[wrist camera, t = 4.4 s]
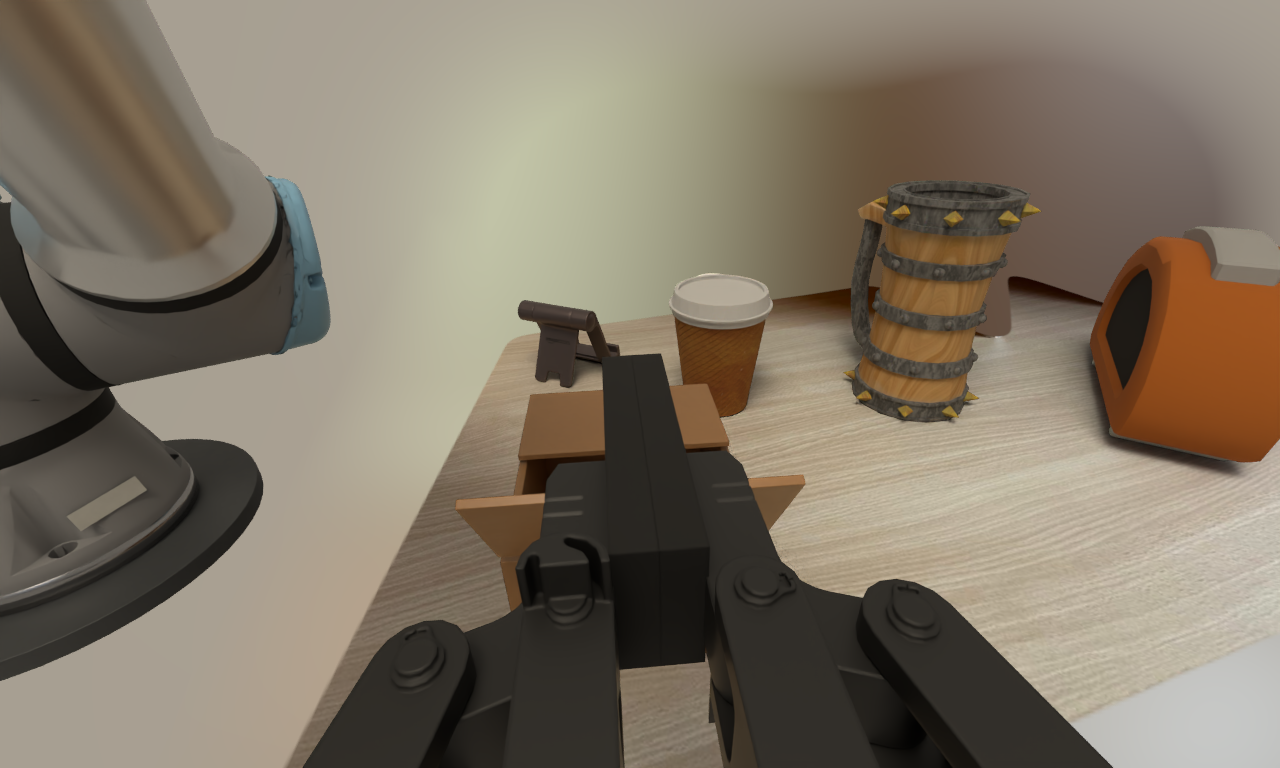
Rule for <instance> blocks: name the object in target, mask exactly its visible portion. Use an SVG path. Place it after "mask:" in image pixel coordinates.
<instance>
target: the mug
mask: <svg viewBox="0 0 1280 768" xmlns="http://www.w3.org/2000/svg"><path fill="white" fill-rule="evenodd" d="M887 194H888V195H887V196H885V197H882V198H880V199H877V200H874V201H873V202H872V203H869V204H867V205H865V206H863V207H862V208H860V209H859V210H858V212H859V214H860V217H861V218H863V219H865V224H864V231H863V235H862V239H861V244H860V248H859V251H858V255H857V258H856V262H855V267H854V272H853V277H852V288H851V314H852V326H853V333H854V336H855V338H856V340H857V342H858V343H859V345H860V346H861V347H862V350H863V356H862V359H861V362H860V363H859V364H858V366H857V367H856V368H855V370H853V371H848V372H843V373H845V374H846V375H848V376H849V377H850V378H852V379H853V380H854V381H853V382H852V388H853V394H854V395H855V396H856V398H857V399H859V400H860V401H861V402H862V403H863V404H864V405H866V406H868V407H870V408H872V409H874V410H876V411H877V412H879V413H882V414H885V415H889V416H892V417H895V418H899V419H902V420H910V421H920V422H933V421H943V420H948V419H950V418H952V417H958V414H960V412H961V410H962V407H963V405H964V401H969V400H975V399H979V398H978V397H976V396H975V395H973V394H971V393H970V392H968V389H969V387H968V385H967V383H966V379H967V373H968V372H969V371H970V369H971V367H972V365H973V362H975V361H976V360H977V359H978V355H977V354H976V353H973V351H974V350H973V349H972V343H973V339H974V335H975V331H976V326H978V325H979V324H980V323H984V322H985V321H986V319H987V317H986V315H985V314H984V312H985V308H986V304H985V303H984V299H985V296H986V294H987V291H988V288H989V285H990V282H991V280H992V277H994V276H995V274H996V273H997V271H998V269H999V268H1003V267H1005V266H1006V265H1007V263H1008V262H1007V260H1006V259H1005V257H1006V254H1004V253H1003V251H1004V249H1005V246H1006V244H1007V242H1008V240H1009V237H1010V235H1011V233H1012V232H1016V231H1017V230H1018V229H1019V227H1020V225H1021V221H1022V220H1021V219H1020V218H1023V217H1026V216H1029V215H1032V214H1035V213H1037V212H1041V211H1040V210H1038V209H1037V208H1035V207H1033V206H1031V205H1030V204H1028V203H1027V201H1028V199H1029V196H1030V193H1028V192H1026V191H1024V190H1021V189H1018V188H1014V187H1009V186H1004V185H997V184H989V183H981V182H966V181H914V182H905V183H899V184H894V185H892V186H890V187H889V188H888V191H887ZM882 225H884V226H886V227H887V229H886V242H885V243H883V244H882V245H881V248H880V249H879V250H878V251H877V255H878V256H879V257H882V262H883V264H884V265H883V272H882V280H881V287H880V289H879V290H877V292H876V296H875V301H874V303H873V305H872V307H873V309H875V311H876V312H875V316H874V320H873V324H872V328H870V324H869V314H868V285H869V277H870V273H871V268H872V263H873V260H874V257H875V254H876V250H877V247H878V243H879V239H880V235H881V230H882ZM958 418H959V417H958Z"/></svg>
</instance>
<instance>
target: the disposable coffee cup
mask: <svg viewBox="0 0 1280 768" xmlns="http://www.w3.org/2000/svg"><path fill="white" fill-rule="evenodd" d="M669 305H670V308H671V310H672V313H673V315H674V317H675V324H676V332H677V339H678V348H679V355H680V363H681V371H682V379H683V385H693V384H707V385H708V387H709V390H710V393H711V395H712V398H713V400H714V403H715V406H716V408H717V411H718V414H719V416H720V417H723V416H730V415H734V414H736V413H739V412H740V411H742V410H743V409H744V408H745V407H746V405H747V399H748V395H749V390H750V386H751V382H752V377H753V373H754V369H755V364H756V360H757V356H758V351H759V347H760V342H761V338H762V333H763V329H764V325H765V319H766V318H767V317H768V315H769V312H770V311H771V310H772V307H773V302H772V300H771V299H770V298H769V291H768V288H767V287H766V285H764V284H763V283H761V282H759V281H757V280H754V279H750V278H747V277H742V276H735V275H719V274H717V275H703V276H697V277H692V278H689V279H686V280H683V281H681V282H679V283H678V284H677V285H676V286H675V289H674V293H673V296H672V297H671V298H670V300H669Z"/></svg>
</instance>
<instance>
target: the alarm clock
mask: <svg viewBox="0 0 1280 768" xmlns="http://www.w3.org/2000/svg"><path fill="white" fill-rule="evenodd" d="M1090 347H1091V351H1092V355H1093V361H1092V364H1093V365H1094V366H1095V367H1096V371H1097V374H1098V378H1099V382H1100V386H1101V390H1102V394H1103V398H1104V402H1105V406H1106V410H1107V414H1108V418H1109V422H1110V425H1111V426H1110V428H1109V433H1110V435H1111V436H1113V437H1117V438H1122V439H1126V440H1131V441H1136V442H1140V443H1145V444H1149V445H1154V446H1158V447H1163V448H1167V449H1172V450H1176V451H1181V452H1185V453H1190V454H1194V455H1199V456H1203V457H1208V458H1212V459H1217V460H1221V461H1228V460H1233V461H1237V462H1257V461H1261V460H1262V459H1263V457H1264V456H1265V455H1266V454H1267V453H1268V452H1269V451H1270V449H1271V448H1272V447H1273V446H1274V445H1275V444H1276V442H1277V441H1278V440H1279V439H1280V247H1278V246H1277V244H1276V243H1275V242H1274V241H1273V240H1272V239H1271V238H1270V237H1269V236H1268V235H1267V234H1266V233H1264V232H1261V231H1258V230H1247V229H1233V228H1218V227H1196V228H1193V229H1190V230H1188V231H1186V232H1185V233H1184V235H1183V238H1173V237H1156V238H1153V239H1152V240H1150V241H1149V242H1147V243H1146V244H1145V245H1143V246H1142V247H1141V248H1140V249H1138V250H1137V251H1136V252H1135V253H1134V254H1133V255H1132V257H1131V258H1130V259H1129V260H1128V261H1127V263H1126V264H1125V265H1124V267H1123V268H1122V270H1121V271H1120V273H1119V274H1118V276H1117V278H1116V279H1115V282H1114V283H1113V285H1112V287H1111V289H1110V290H1109V292H1108V294H1107V296H1106V298H1105V301H1104V303H1103V305H1102V308H1101V310H1100V312H1099V315H1098V317H1097V320H1096V323H1095V325H1094V328H1093V331H1092V334H1091V339H1090Z"/></svg>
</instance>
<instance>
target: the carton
mask: <svg viewBox="0 0 1280 768" xmlns="http://www.w3.org/2000/svg"><path fill="white" fill-rule="evenodd" d="M669 387H670V391H671V395H672V399H673V403H674V407H675V411H676V415H677V418H678V422H679V426H680V430H681V434H682V438H683V442H684V446H685V450H686V453H695V452H709V451H723V450H727V451H728V452H729V450H728V447H727V446H729V440H728V437H727V435H726V432H725V429H724V427H723V424H722V421H721V419H720V416H719V414H718V411H717V408H716V406H715V403H714V400H713V398H712V395H711V393H710V390H709V387H708V385H707V384H693V385H677V386H669ZM518 458H519V461H520V464H519V470H518V475H517V480H516V485H515V490H514V495H527V494H541V493H545V491H546V482H547V479H548V478H549V477H550V475H551V474H552V472H553V471H554V470H555V468H556V467H557V465H558V464H562V463H577V462H591V461H605V437H604V405H603V390H597V391H581V392H565V393H549V394H533V395H530V400H529V405H528V410H527V414H526V419H525V424H524V429H523V434H522V439H521V444H520V449H519V454H518ZM519 558H520V556H510V557H501V562H500V564H501V568H502V573H503V577H504V582H505V586H506V591H507V595H508V600H509V604H510V609H511V612H512V611H513V610H514V609H516V608H517V607H518V606H519V605H520V604H521V603H522V600H521V595H520V590H519V585H518V580H517V575H516V571H515V567H516V565H517V563H518V560H519ZM705 653H707V652H706V648H705Z"/></svg>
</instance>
